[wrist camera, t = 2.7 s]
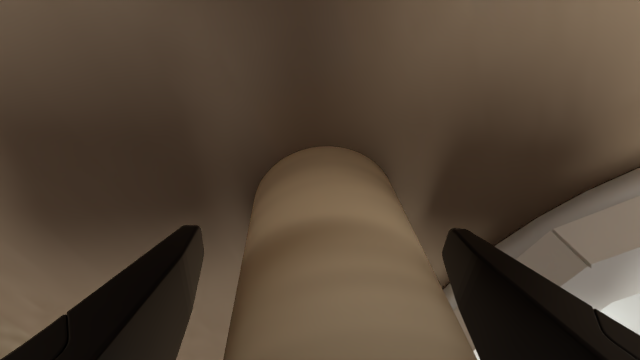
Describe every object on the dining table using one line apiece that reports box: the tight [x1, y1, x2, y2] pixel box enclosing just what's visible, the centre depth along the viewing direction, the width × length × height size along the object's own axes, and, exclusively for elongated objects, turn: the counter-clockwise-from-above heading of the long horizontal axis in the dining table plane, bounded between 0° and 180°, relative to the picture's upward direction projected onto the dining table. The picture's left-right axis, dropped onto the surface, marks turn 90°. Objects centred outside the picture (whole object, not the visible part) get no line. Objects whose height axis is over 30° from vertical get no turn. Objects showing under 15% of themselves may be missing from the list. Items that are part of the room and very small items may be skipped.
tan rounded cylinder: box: [223, 146, 477, 360], centre depth 7 cm, size 4×4×7 cm
